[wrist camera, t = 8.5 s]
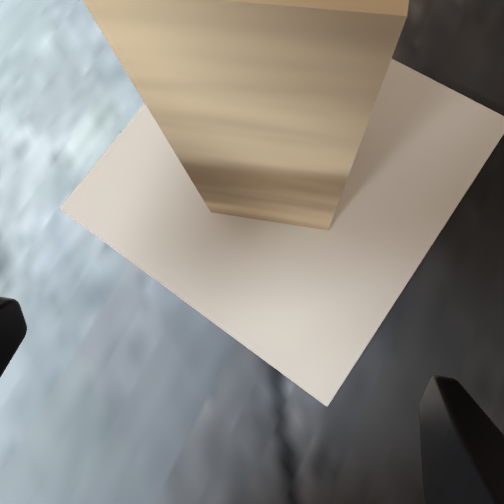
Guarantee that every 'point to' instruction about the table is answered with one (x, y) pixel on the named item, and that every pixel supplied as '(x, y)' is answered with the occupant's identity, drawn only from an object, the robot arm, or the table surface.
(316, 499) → the table surface
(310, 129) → the beech block
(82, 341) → the table surface
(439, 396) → the robot arm
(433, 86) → the plate
